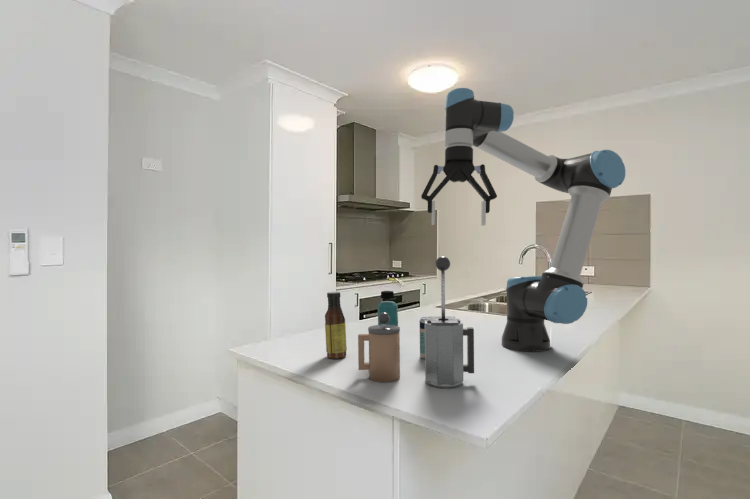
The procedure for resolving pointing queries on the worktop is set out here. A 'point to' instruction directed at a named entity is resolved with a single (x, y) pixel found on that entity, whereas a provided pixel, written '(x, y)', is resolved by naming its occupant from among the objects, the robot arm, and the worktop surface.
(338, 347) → the sauce bottle
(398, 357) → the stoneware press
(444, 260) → the plunger
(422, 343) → the beer can
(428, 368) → the steel carafe
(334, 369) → the worktop surface
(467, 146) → the robot arm
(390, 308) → the beverage bottle
